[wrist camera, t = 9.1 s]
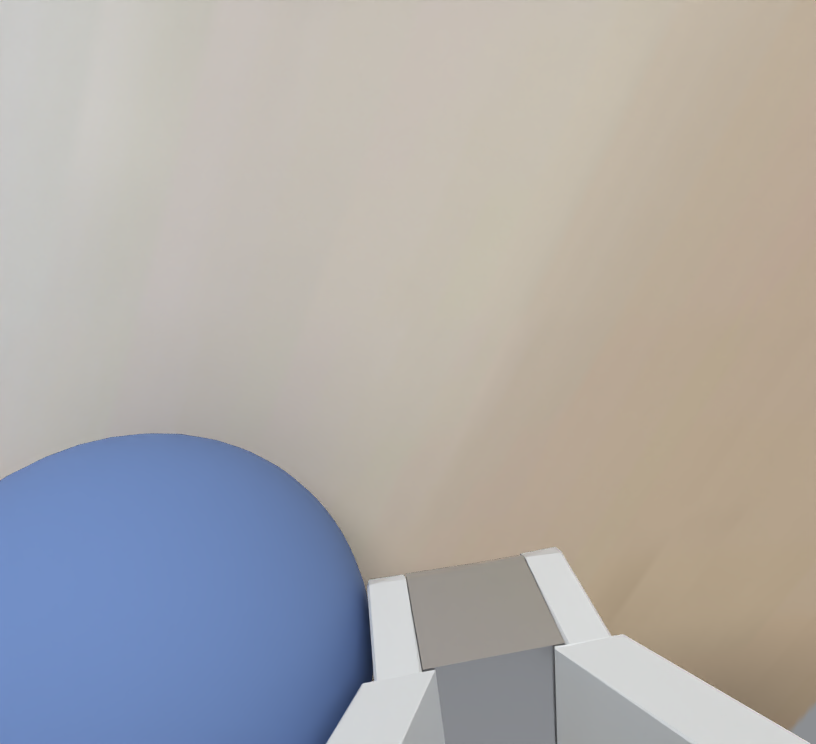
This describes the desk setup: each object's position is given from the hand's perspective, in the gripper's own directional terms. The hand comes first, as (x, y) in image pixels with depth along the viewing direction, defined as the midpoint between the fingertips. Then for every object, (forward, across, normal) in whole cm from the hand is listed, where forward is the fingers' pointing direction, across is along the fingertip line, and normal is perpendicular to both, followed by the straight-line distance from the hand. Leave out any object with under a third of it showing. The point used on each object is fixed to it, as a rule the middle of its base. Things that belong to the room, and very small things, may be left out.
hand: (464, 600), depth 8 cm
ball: (0, +4, 0) cm, 4 cm away
